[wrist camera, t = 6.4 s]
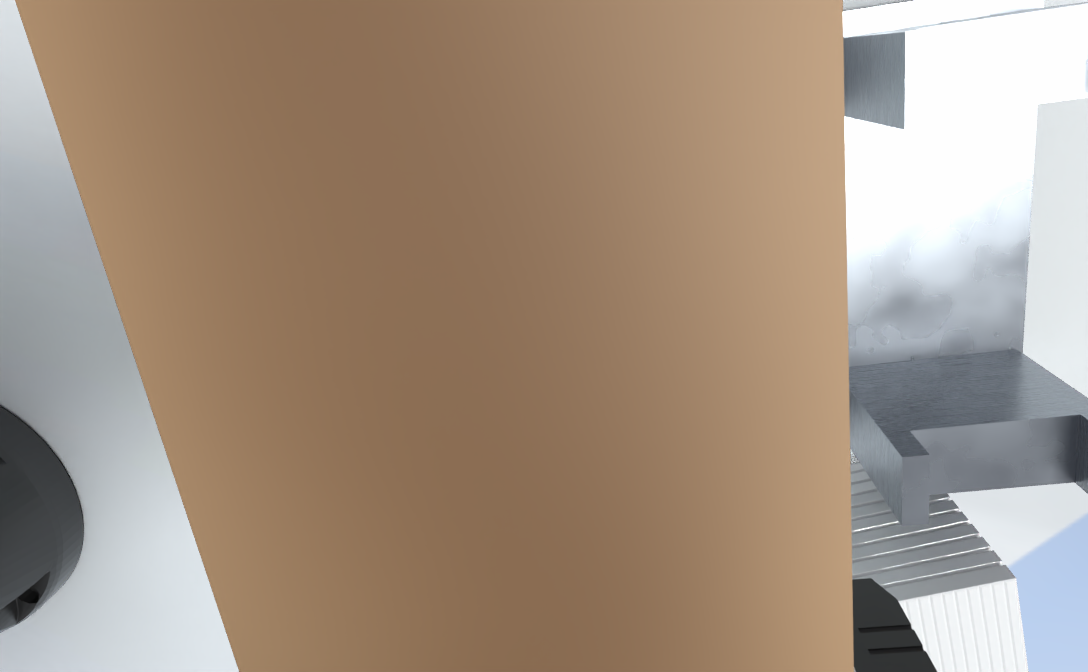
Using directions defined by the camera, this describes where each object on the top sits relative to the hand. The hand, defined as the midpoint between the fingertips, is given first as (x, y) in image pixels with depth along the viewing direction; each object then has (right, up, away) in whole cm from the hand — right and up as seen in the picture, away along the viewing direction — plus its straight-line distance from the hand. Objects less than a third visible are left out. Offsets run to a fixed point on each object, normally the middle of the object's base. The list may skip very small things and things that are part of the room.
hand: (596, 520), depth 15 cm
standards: (+16, +8, +21) cm, 28 cm away
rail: (0, -1, -2) cm, 2 cm away
